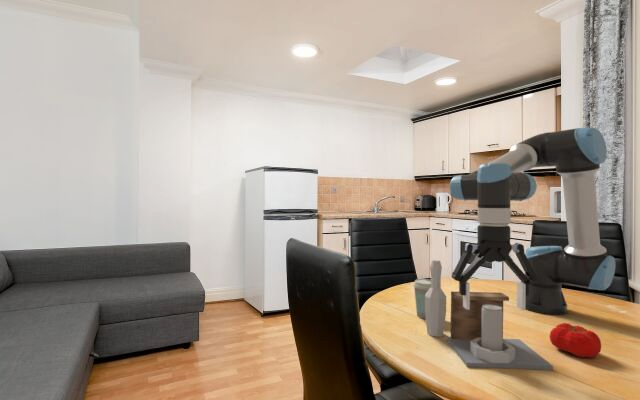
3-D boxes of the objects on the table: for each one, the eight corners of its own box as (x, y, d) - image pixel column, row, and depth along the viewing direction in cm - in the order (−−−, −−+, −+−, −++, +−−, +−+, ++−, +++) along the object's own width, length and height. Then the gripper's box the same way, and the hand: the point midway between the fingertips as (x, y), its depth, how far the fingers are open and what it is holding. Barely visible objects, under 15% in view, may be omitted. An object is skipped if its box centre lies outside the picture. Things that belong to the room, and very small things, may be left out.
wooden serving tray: (500, 342, 101) (501, 292, 101) (508, 348, 97) (509, 297, 97) (450, 340, 102) (451, 291, 102) (455, 347, 98) (456, 295, 98)
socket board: (519, 342, 101) (519, 330, 101) (552, 369, 85) (552, 355, 85) (446, 340, 102) (447, 328, 102) (466, 366, 86) (467, 352, 86)
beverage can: (477, 350, 93) (477, 304, 93) (495, 350, 93) (495, 304, 94) (488, 358, 88) (488, 309, 88) (506, 358, 89) (506, 309, 89)
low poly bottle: (421, 329, 111) (422, 258, 110) (442, 330, 110) (443, 258, 110) (427, 337, 104) (428, 262, 104) (449, 338, 104) (450, 262, 104)
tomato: (585, 364, 88) (586, 337, 88) (542, 347, 99) (542, 323, 98) (609, 357, 92) (609, 332, 92) (565, 341, 102) (565, 318, 102)
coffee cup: (440, 321, 118) (440, 285, 118) (413, 319, 120) (414, 283, 120) (437, 313, 127) (437, 279, 127) (412, 311, 128) (412, 278, 128)
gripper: (536, 223, 94) (536, 304, 94) (439, 223, 95) (439, 303, 95) (553, 225, 86) (553, 313, 87) (447, 226, 88) (448, 312, 88)
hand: (493, 308), depth 91 cm, fingers open, 13 cm apart
